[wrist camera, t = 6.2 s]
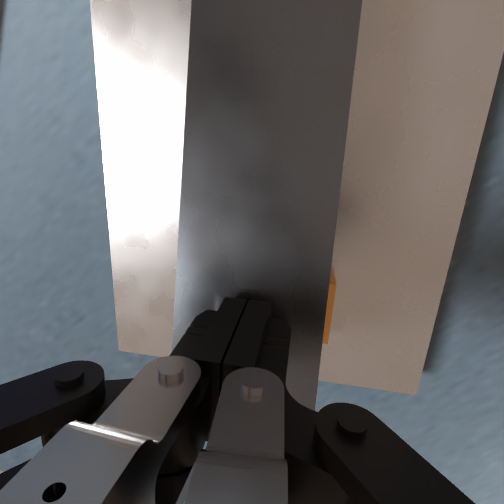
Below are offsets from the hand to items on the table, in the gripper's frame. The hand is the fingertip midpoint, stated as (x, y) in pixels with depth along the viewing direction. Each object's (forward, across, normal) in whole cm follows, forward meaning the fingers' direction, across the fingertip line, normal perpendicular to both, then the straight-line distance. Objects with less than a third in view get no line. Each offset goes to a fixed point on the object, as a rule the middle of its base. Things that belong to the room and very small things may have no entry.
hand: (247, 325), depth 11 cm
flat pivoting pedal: (+3, 0, -6) cm, 7 cm away
